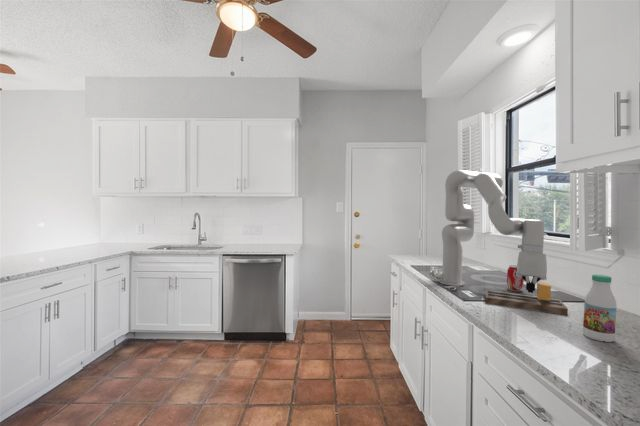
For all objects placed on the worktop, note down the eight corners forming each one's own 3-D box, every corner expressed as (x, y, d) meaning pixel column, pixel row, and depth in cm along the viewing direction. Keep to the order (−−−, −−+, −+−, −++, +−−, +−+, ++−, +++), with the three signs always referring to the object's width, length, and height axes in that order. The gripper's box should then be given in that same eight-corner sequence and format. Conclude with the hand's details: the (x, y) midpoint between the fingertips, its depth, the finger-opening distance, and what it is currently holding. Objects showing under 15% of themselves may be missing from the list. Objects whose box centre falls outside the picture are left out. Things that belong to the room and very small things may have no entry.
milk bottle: (582, 330, 106) (585, 272, 105) (613, 337, 101) (617, 275, 100) (582, 337, 100) (586, 275, 99) (616, 345, 95) (619, 279, 94)
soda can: (508, 291, 154) (509, 267, 153) (504, 287, 160) (505, 264, 160) (525, 292, 152) (526, 268, 151) (520, 289, 158) (521, 265, 158)
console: (485, 303, 134) (485, 295, 134) (485, 294, 146) (485, 288, 146) (567, 315, 121) (567, 307, 121) (559, 305, 133) (560, 297, 133)
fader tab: (538, 301, 129) (538, 284, 129) (536, 298, 133) (537, 282, 133) (550, 302, 127) (550, 286, 127) (547, 299, 131) (548, 283, 131)
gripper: (512, 248, 132) (510, 291, 132) (555, 251, 125) (553, 297, 125) (510, 246, 138) (509, 287, 139) (552, 249, 131) (550, 292, 132)
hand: (530, 291), depth 132 cm, fingers closed
